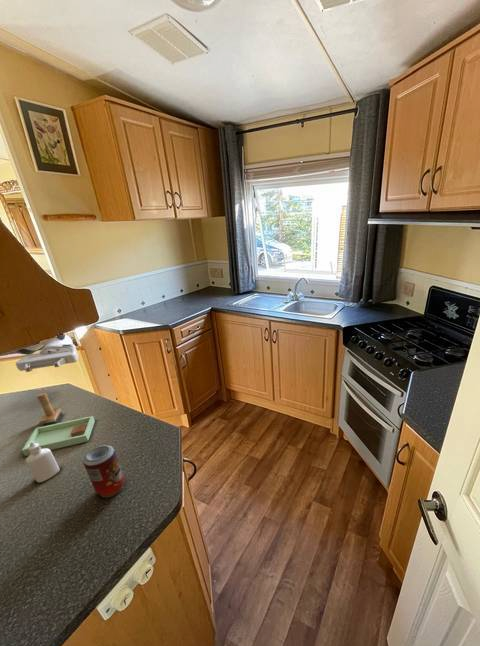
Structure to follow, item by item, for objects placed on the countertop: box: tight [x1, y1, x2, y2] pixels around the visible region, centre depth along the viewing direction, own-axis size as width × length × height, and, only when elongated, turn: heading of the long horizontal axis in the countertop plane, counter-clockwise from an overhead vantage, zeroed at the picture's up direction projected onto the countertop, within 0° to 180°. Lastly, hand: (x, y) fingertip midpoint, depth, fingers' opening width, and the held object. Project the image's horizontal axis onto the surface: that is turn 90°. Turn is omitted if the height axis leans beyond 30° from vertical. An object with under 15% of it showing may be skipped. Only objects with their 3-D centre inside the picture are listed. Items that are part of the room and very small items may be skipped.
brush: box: [36, 392, 63, 427], centre depth 104 cm, size 4×7×12 cm, turn 20°
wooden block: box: [71, 424, 87, 437], centre depth 98 cm, size 4×4×2 cm
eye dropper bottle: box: [25, 441, 61, 483], centre depth 80 cm, size 4×6×12 cm
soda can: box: [82, 444, 125, 498], centre depth 74 cm, size 7×7×12 cm
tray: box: [21, 415, 96, 457], centre depth 97 cm, size 18×12×2 cm, turn 109°
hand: (42, 367), depth 110 cm, fingers open, 8 cm apart
